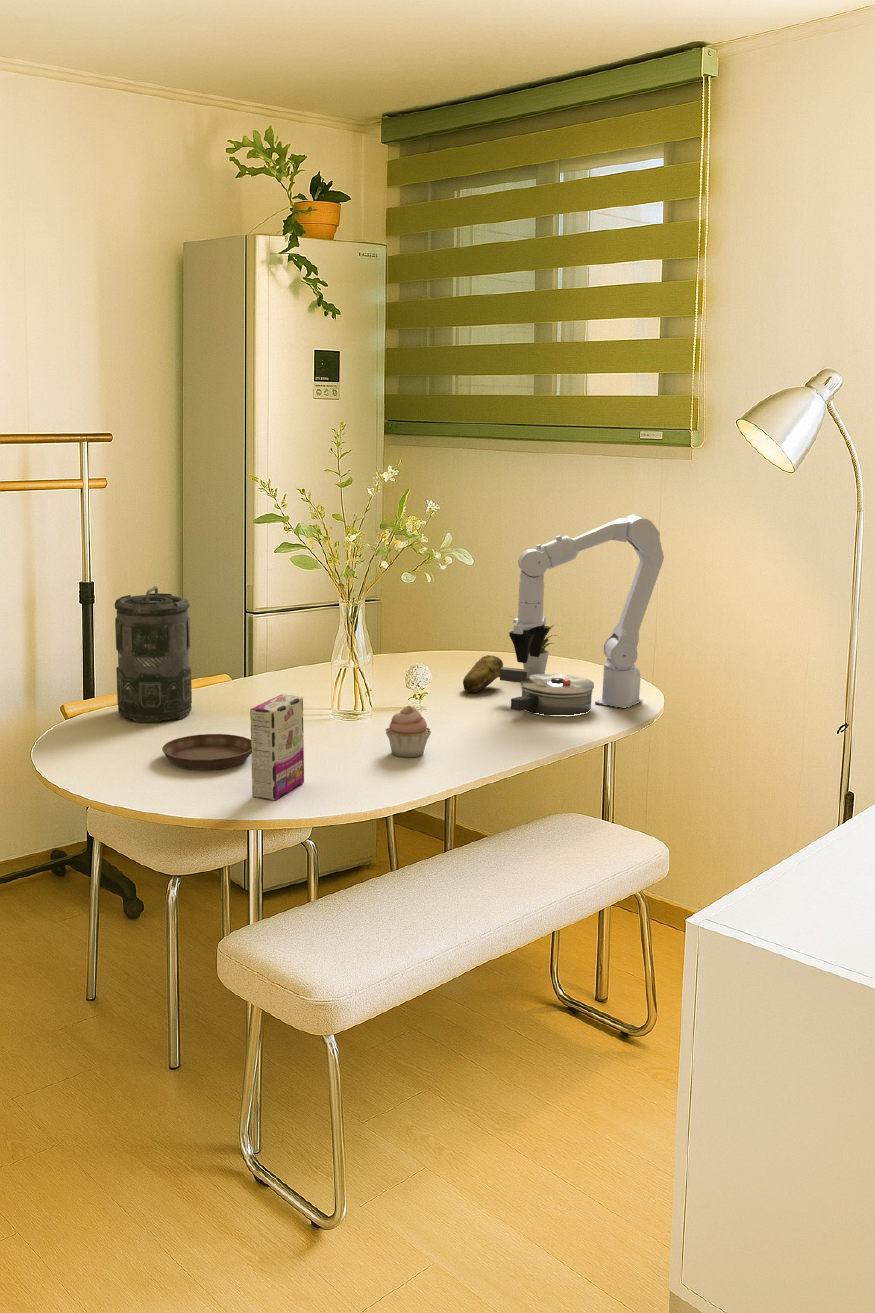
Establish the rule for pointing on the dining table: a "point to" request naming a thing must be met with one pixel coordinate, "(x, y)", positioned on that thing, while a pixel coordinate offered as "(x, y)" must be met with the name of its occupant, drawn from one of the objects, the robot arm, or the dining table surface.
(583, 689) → the lid
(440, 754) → the dining table surface
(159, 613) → the canister
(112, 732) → the dining table surface
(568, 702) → the pot
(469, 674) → the potato
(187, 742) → the plant saucer
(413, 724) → the cupcake
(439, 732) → the dining table surface
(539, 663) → the house plant
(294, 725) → the candy bar box
